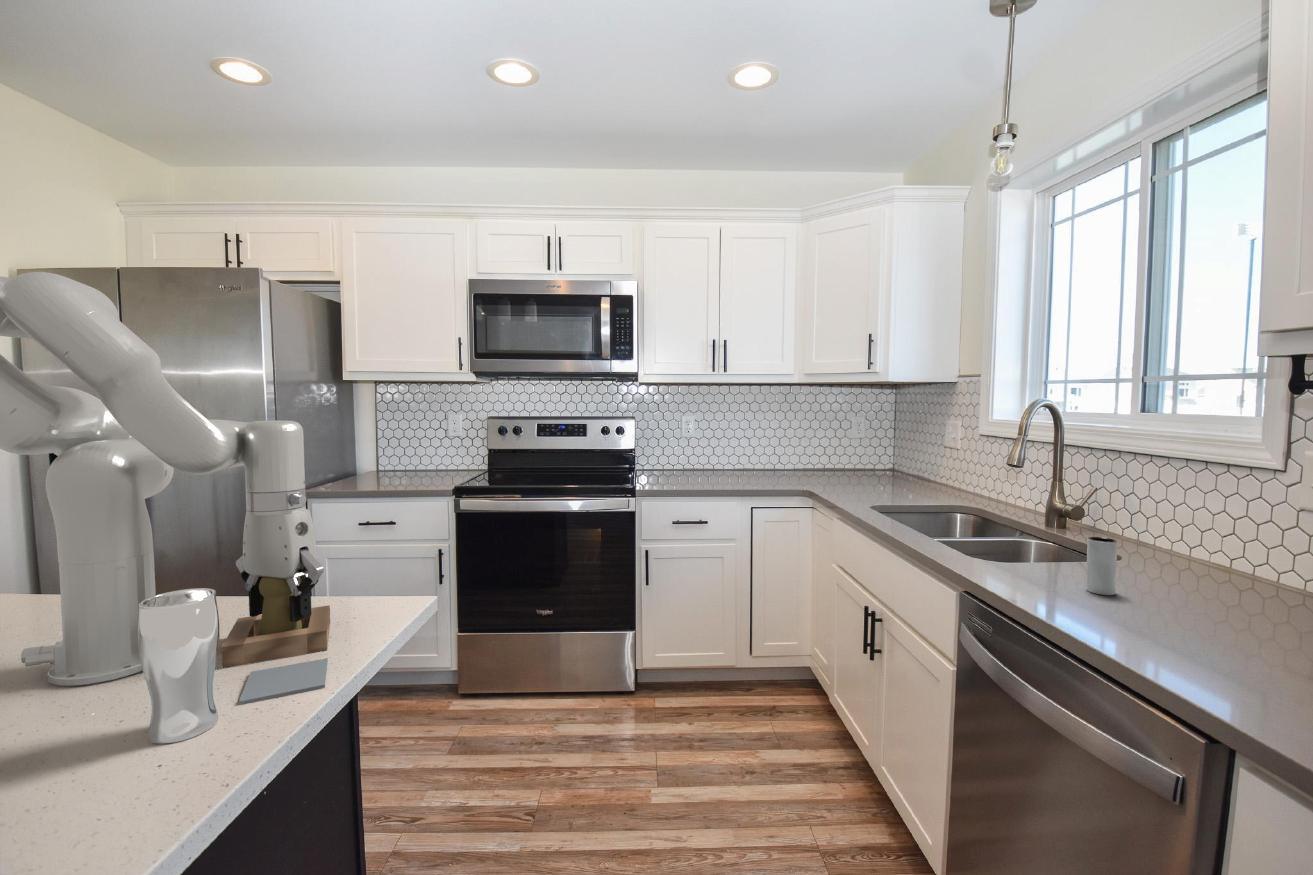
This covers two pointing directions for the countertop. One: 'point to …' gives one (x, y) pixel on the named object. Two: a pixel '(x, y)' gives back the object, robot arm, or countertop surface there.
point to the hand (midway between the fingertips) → (280, 615)
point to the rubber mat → (284, 681)
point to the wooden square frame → (275, 639)
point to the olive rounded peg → (276, 606)
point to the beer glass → (179, 662)
